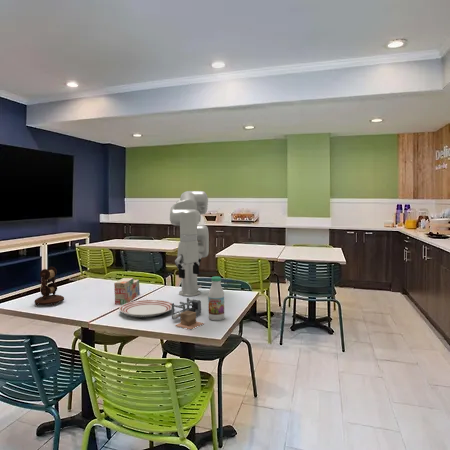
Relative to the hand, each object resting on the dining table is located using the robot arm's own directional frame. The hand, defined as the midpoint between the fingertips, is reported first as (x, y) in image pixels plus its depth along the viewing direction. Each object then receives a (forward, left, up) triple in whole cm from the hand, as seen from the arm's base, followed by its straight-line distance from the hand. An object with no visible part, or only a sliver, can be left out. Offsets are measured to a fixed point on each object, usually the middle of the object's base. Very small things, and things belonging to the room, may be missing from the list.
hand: (189, 275), depth 162 cm
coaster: (0, 0, -23) cm, 23 cm away
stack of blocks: (-13, -57, -23) cm, 63 cm away
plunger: (-7, -9, -22) cm, 25 cm away
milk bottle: (-14, +5, -23) cm, 27 cm away
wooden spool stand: (+17, -87, -23) cm, 91 cm away
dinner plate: (-3, -31, -23) cm, 39 cm away
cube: (0, -1, -22) cm, 22 cm away
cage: (-8, -9, -23) cm, 26 cm away
